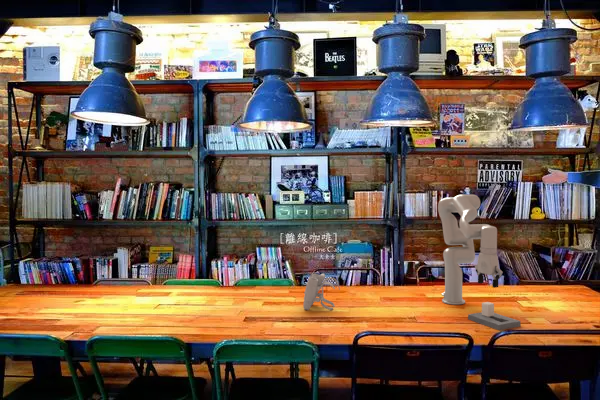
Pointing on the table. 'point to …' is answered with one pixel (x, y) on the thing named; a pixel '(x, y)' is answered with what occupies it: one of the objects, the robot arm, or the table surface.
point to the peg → (487, 309)
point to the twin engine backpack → (316, 291)
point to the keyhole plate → (494, 321)
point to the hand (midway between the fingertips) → (487, 285)
